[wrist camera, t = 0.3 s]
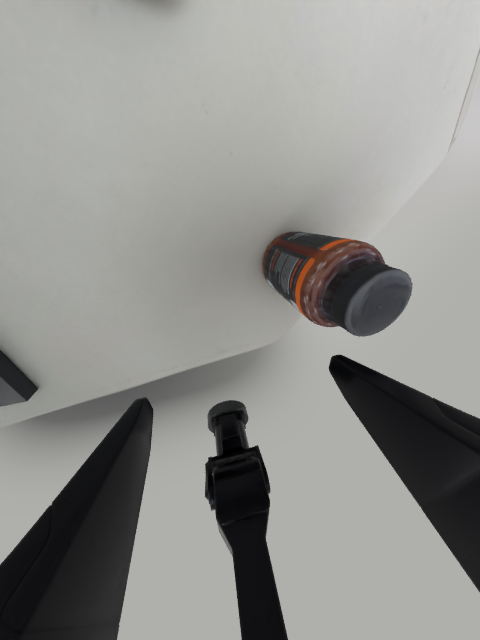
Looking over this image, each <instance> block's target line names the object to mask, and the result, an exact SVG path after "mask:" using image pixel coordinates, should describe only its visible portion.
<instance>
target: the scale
mask: <svg viewBox="0 0 480 640" xmlns="http://www.w3.org/2000/svg"><path fill="white" fill-rule="evenodd" d="M37 390H38V389H37V388H36V387H35V386H34V385H33V384H32V383H31V381H30V380H29V379H28V378H27V377H26V376H25V375H24V374H23V373H22V372H21V371H20V370H19V369H18V368H17V367H16V366H15V365H14V364H13V363H12V362H11V361H10V360H9V359H8V358H7V357H6V356H5V355H4V354H3V353H2V352H1V351H0V406H5V405H10V404H15V403H20V402H26V401H28V400H29V399H30V398H31V396H32V395H33V394H34V393H35V392H36V391H37Z"/></svg>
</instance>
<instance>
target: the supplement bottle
mask: <svg viewBox="0 0 480 640" xmlns="http://www.w3.org/2000/svg"><path fill="white" fill-rule="evenodd" d="M262 268H263V274H264V277H265V279H266V280H267V282H268V283H269V284H270V285H271V286H272V287H273V288H274V289H275V290H276V291H277V292H278V293H280V294H281V295H282V296H283V297H284V298H285V299H286V300H287V301H288V302H290V303H291V304H292V305H293V306H294V307H295V308H296V309H297V310H299V311H300V312H301V313H302V314H303V315H304V316H305V317H307V318H308V319H309V320H310V321H312V322H313V323H315V324H317V325H320V326H325V327H336V326H340V327H342V328H344V329H345V330H347V331H348V332H350V333H351V334H353V335H356V336H369V335H373V334H375V333H378V332H380V331H382V330H383V329H385V328H386V327H387V326H389V325H390V324H391V323H393V322H394V321H395V320H396V319H397V318H398V317H399V315H400V314H401V313H402V312H403V310H404V309H405V307H406V305H407V303H408V301H409V299H410V296H411V292H412V282H411V278H410V277H409V275H408V274H407V273H406V272H404V271H402V270H400V269H396V268H392V267H389V266H388V265H386V264H385V262H384V260H383V257H382V255H381V253H380V252H379V251H378V250H377V249H376V248H375V247H374V246H372V245H370V244H368V243H365V242H361V241H357V240H351V239H345V238H338V237H331V236H325V235H318V234H311V233H303V232H288V233H285V234H282V235H280V236H279V237H277V238H276V239H275V240H274V241H273V242H272V243H271V244H270V245H269V246H268V248H267V250H266V252H265V255H264V258H263V263H262Z"/></svg>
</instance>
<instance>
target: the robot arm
mask: <svg viewBox="0 0 480 640" xmlns="http://www.w3.org/2000/svg"><path fill="white" fill-rule="evenodd" d="M329 371H330V373H331V375H332V377H333V378H334V380H335V382H336V384H337V386H338V387H339V389H340V391H341V393H342V394H343V396H344V398H345V399H346V401H347V402H348V404H349V405H350V406H351V408H352V410H353V411H354V412H355V414H356V415H357V417H358V418H359V420H360V421H361V423H362V424H363V425H364V427H365V428H366V430H367V431H368V433H369V434H370V435H371V437H372V438H373V440H374V441H375V443H376V444H377V445H378V447H379V448H380V450H381V451H382V453H383V454H384V456H385V457H386V458H387V460H388V461H389V463H390V464H391V466H392V467H393V468H394V470H395V471H396V473H397V474H398V476H399V477H400V478H401V480H402V481H403V483H404V484H405V486H406V487H407V489H408V490H409V491H410V493H411V494H412V495H413V497H414V498H415V500H416V501H417V503H418V504H419V506H420V507H421V508H422V510H423V512H424V513H425V514H426V516H427V517H428V519H429V520H430V522H431V523H432V525H433V526H434V527H435V529H436V530H437V532H438V533H439V535H440V536H441V538H442V539H443V540H444V542H445V543H446V545H447V546H448V548H449V549H450V550H451V552H452V553H453V555H454V556H455V558H456V559H457V560H458V562H459V563H460V565H461V566H462V568H463V569H464V570H465V572H466V573H467V575H468V576H469V577H470V579H471V580H472V582H473V583H474V585H475V586H476V587H477V589H478V591H479V592H480V419H479V418H477V417H474V416H472V415H469V414H467V413H465V412H463V411H461V410H458V409H456V408H454V407H452V406H450V405H447V404H445V403H443V402H441V401H439V400H437V399H435V398H431V397H430V396H428V395H426V394H424V393H421V392H419V391H417V390H415V389H413V388H410V387H409V386H406V385H404V384H402V383H400V382H398V381H396V380H394V379H392V378H389V377H387V376H385V375H383V374H381V373H379V372H377V371H375V370H372V369H370V368H368V367H366V366H364V365H361V364H360V363H357V362H355V361H353V360H351V359H349V358H347V357H345V356H342V355H336V356H332V358H331V361H330V365H329ZM210 421H211V425H212V429H213V432H214V436H215V438H216V449H217V456H215V457H209V458H208V459H209V460H208V462H207V463H206V464H205V465H206V483H205V497H206V498H207V499H208V500H209V504H210V506H211V510H216V519H217V524H218V528H219V532H220V534H221V536H222V538H223V539H224V541H225V543H226V545H227V547H228V549H229V551H230V552H231V554H232V556H233V562H234V571H235V581H236V590H237V599H238V608H239V618H240V627H241V636H242V640H288V638H287V633H286V629H285V624H284V620H283V615H282V611H281V606H280V601H279V597H278V592H277V588H276V584H275V579H274V574H273V570H272V565H271V561H270V556H269V552H268V547H267V543H266V533H267V524H268V516H269V507H270V499H269V495H268V494H269V493H270V484H269V479H268V475H267V471H266V468H265V465H264V462H263V459H262V456H261V453H260V450H259V447H258V446H255V447H252V448H249V446H248V441H247V437H246V433H245V429H246V428H245V416H244V410H239V411H235V412H231V413H226V414H222V415H218V416H214V417H211V418H210ZM152 423H153V408H152V406H151V404H150V402H149V401H148V399H147V398H146V397H143V398H139V399H136V400H135V401H134V402H133V403H132V405H131V406H130V407H129V408H128V409H127V411H126V412H125V413H124V414H123V416H122V417H121V418H120V419H119V421H118V422H117V423H116V424H115V426H114V427H113V428H112V429H111V430H110V432H109V433H108V434H107V435H106V437H105V438H104V439H103V440H102V442H101V443H100V444H99V445H98V447H97V448H96V449H95V450H94V452H93V453H92V454H91V455H90V456H89V458H88V459H87V460H86V461H85V463H84V464H83V465H82V466H81V468H80V469H79V470H78V471H77V473H76V474H75V475H74V476H73V477H72V479H71V480H70V481H69V482H68V484H67V485H66V486H65V487H64V489H63V490H62V491H61V492H60V494H59V495H58V496H57V497H56V498H55V500H54V501H53V502H52V505H51V506H49V507H48V508H47V509H46V511H45V512H44V513H43V515H42V516H41V517H40V518H39V519H38V521H37V522H36V523H35V524H34V525H33V527H32V528H31V529H30V530H29V531H28V533H27V534H26V535H25V536H24V537H23V539H22V540H21V541H20V542H19V544H18V545H17V546H16V547H15V548H14V550H13V551H12V552H11V553H10V554H9V555H8V556H7V558H6V559H5V560H4V561H3V562H2V563H1V565H0V640H117V635H118V630H119V622H120V618H121V612H122V606H123V601H124V596H125V590H126V584H127V579H128V573H129V567H130V562H131V557H132V551H133V545H134V540H135V534H136V529H137V523H138V518H139V512H140V506H141V501H142V495H143V490H144V484H145V478H146V473H147V467H148V462H149V456H150V449H151V437H152Z"/></svg>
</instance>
